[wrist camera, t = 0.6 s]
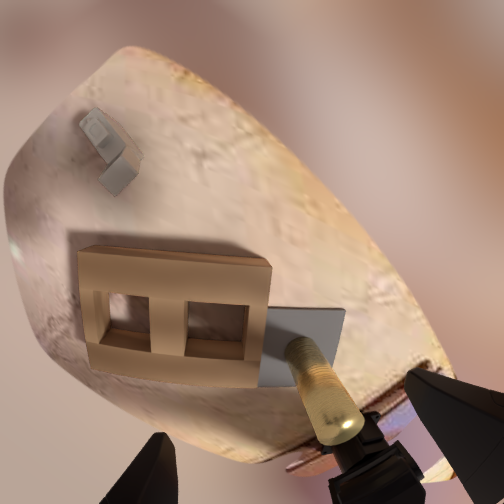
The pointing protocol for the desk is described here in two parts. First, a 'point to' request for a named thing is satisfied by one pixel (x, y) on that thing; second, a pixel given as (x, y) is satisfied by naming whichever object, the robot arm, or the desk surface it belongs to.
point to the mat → (289, 328)
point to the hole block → (173, 314)
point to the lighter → (112, 150)
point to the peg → (322, 393)
